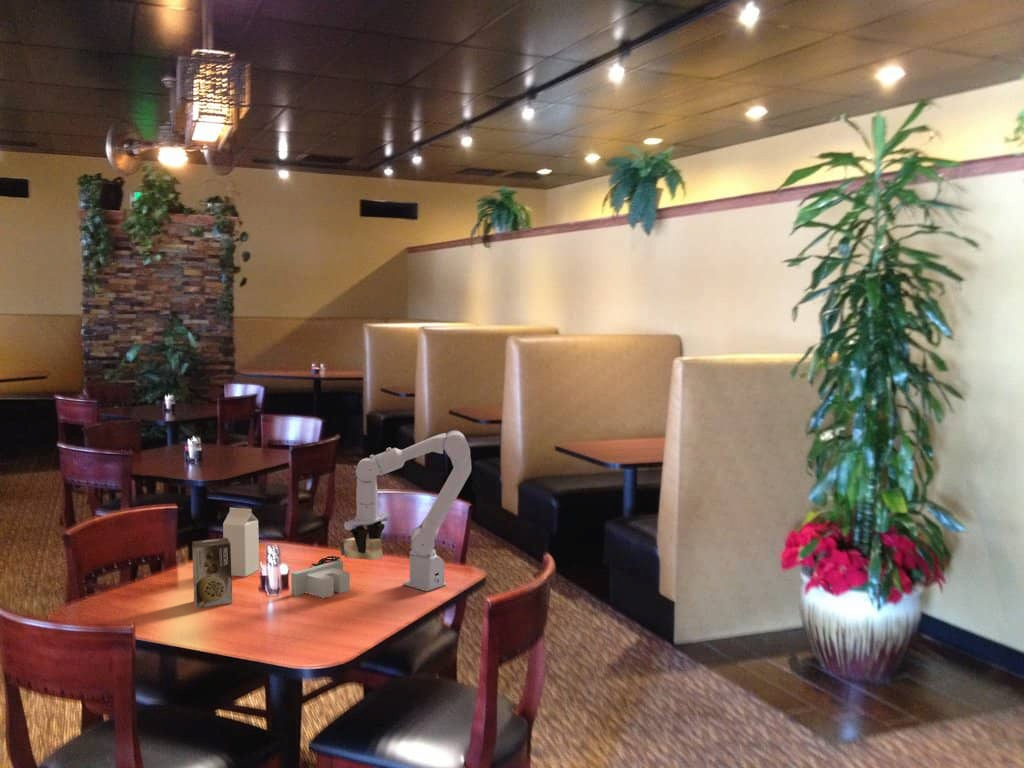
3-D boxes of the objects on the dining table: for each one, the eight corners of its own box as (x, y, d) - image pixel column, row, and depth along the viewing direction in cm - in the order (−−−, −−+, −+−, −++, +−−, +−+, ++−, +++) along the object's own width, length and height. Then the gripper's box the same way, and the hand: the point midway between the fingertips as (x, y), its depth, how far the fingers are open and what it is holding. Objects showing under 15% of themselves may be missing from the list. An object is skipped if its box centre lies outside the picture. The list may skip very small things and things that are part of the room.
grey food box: (229, 596, 234) (228, 537, 233) (232, 603, 228) (231, 542, 227) (193, 601, 230) (191, 540, 229) (195, 608, 224) (194, 546, 223)
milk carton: (245, 577, 251) (244, 511, 249) (223, 575, 253) (222, 510, 251) (259, 570, 258) (258, 506, 256) (238, 568, 260) (236, 505, 258)
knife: (305, 585, 245) (305, 580, 245) (285, 583, 247) (285, 578, 247) (346, 560, 270) (346, 556, 270) (326, 559, 271) (326, 554, 271)
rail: (382, 557, 241) (381, 539, 241) (373, 559, 239) (371, 541, 239) (347, 554, 251) (346, 536, 251) (338, 556, 248) (336, 539, 248)
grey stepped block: (359, 587, 242) (359, 566, 242) (312, 601, 230) (312, 579, 229) (338, 580, 248) (338, 560, 247) (291, 594, 236) (291, 572, 235)
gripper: (377, 496, 250) (377, 543, 251) (336, 504, 239) (337, 553, 240) (394, 499, 245) (394, 547, 246) (353, 508, 234) (354, 558, 235)
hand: (367, 551), depth 243 cm, fingers closed on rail, 3 cm apart
